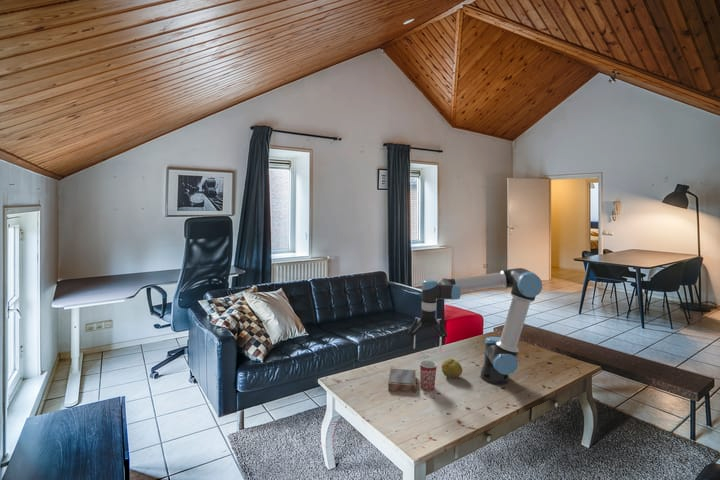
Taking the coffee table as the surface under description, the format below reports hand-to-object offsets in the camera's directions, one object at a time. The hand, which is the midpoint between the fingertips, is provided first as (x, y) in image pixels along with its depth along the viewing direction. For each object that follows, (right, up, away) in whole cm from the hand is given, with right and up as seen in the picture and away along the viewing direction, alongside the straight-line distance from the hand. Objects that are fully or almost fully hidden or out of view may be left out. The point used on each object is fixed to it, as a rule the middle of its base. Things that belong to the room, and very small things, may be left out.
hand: (427, 348), depth 204 cm
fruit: (+16, -20, +13) cm, 29 cm away
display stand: (-13, -20, +5) cm, 25 cm away
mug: (0, -21, +2) cm, 21 cm away
